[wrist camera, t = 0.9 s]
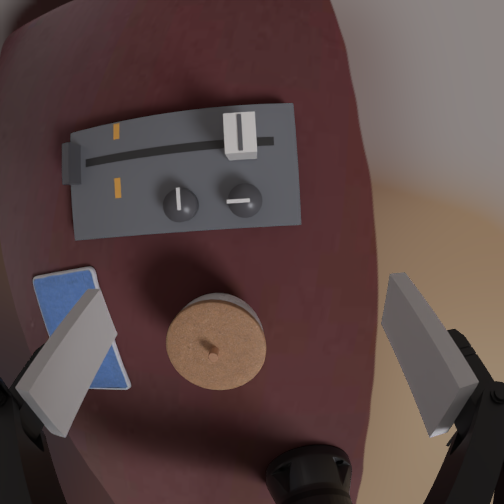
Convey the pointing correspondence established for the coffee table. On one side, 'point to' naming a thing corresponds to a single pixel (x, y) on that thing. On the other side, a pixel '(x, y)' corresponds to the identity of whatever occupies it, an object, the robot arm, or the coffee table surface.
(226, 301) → the lidded jar
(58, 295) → the tablet computer
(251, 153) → the fader tab
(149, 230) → the console
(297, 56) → the coffee table surface
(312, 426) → the coffee table surface
